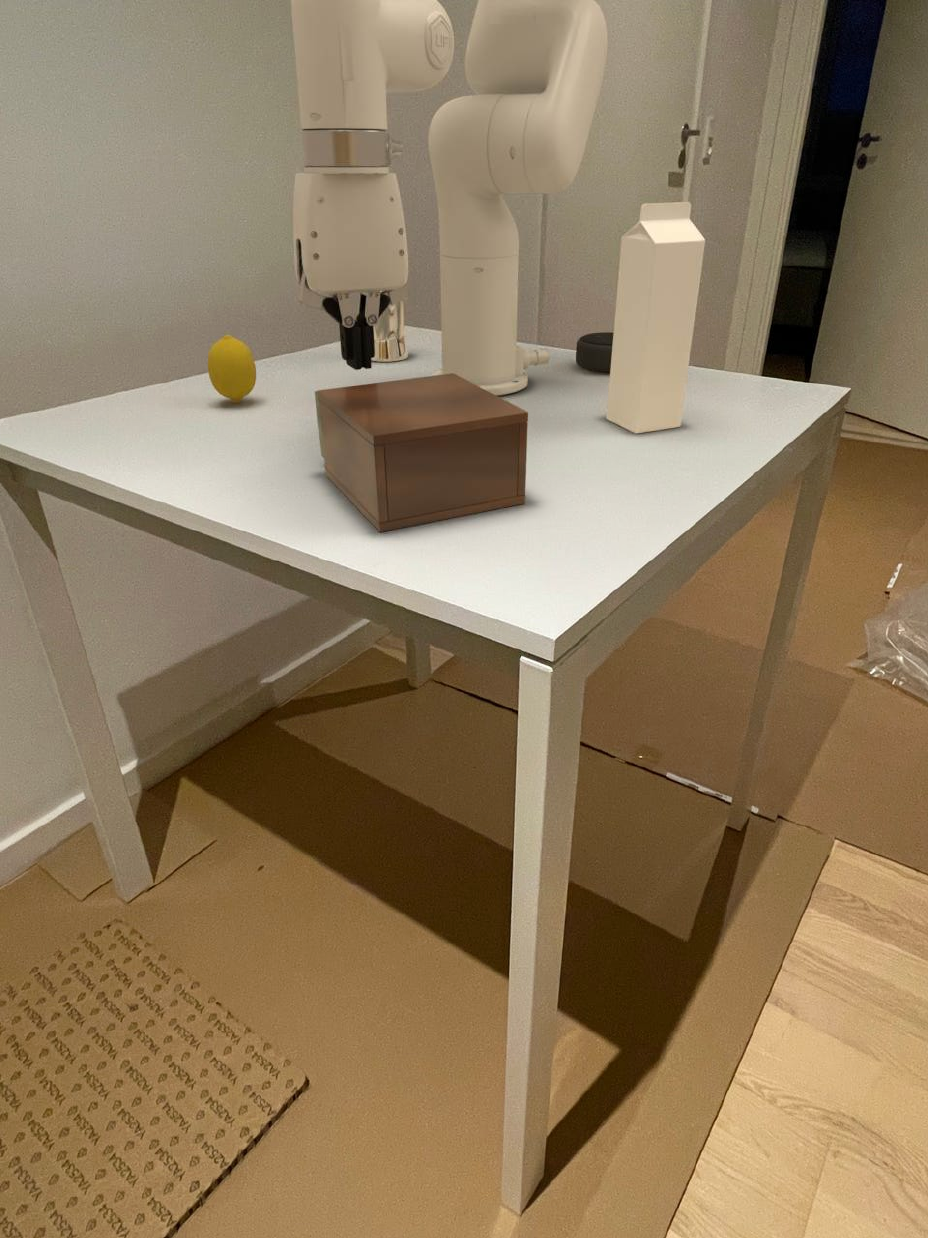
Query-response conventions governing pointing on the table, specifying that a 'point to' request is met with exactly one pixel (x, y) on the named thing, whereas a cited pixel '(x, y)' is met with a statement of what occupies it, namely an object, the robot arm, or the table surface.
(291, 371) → the table surface
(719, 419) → the table surface
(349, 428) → the cabinet
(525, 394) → the table surface
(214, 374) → the lemon
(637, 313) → the milk
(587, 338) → the smart speaker
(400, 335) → the beer glass
